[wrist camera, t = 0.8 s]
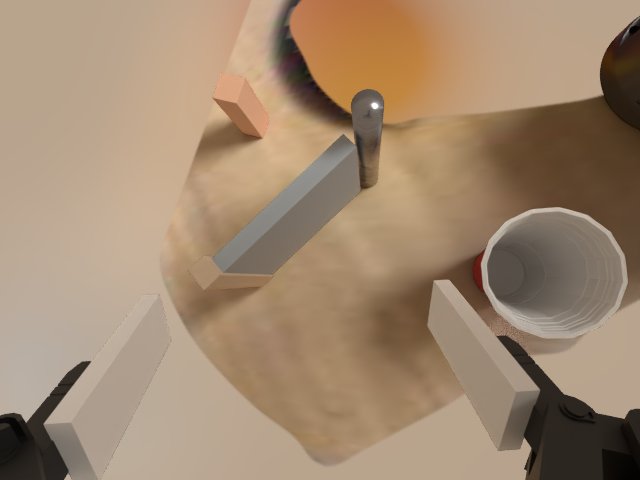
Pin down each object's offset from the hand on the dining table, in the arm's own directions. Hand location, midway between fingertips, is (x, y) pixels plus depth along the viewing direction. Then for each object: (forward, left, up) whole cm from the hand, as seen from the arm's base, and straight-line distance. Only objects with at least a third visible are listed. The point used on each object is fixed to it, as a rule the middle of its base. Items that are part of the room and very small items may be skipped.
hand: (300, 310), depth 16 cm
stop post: (+9, -24, -25) cm, 36 cm away
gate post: (-5, -14, -25) cm, 29 cm away
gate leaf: (+3, -8, -24) cm, 25 cm away
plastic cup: (-18, 0, -25) cm, 31 cm away
